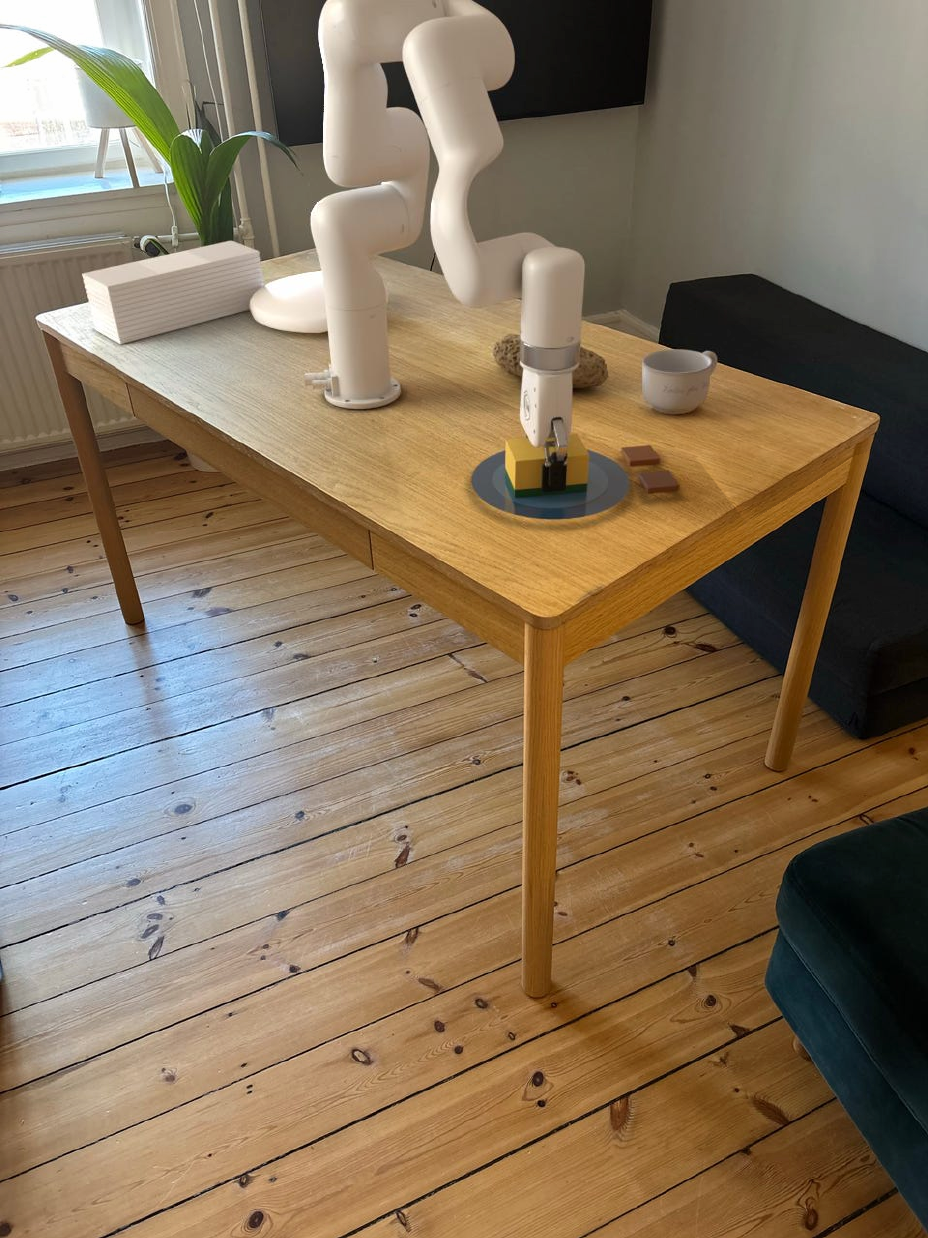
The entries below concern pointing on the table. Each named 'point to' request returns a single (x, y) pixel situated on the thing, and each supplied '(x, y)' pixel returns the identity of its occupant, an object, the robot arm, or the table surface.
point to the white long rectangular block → (173, 290)
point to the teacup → (677, 379)
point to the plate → (294, 304)
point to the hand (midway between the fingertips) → (544, 473)
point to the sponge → (584, 375)
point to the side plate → (601, 494)
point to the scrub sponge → (527, 467)
